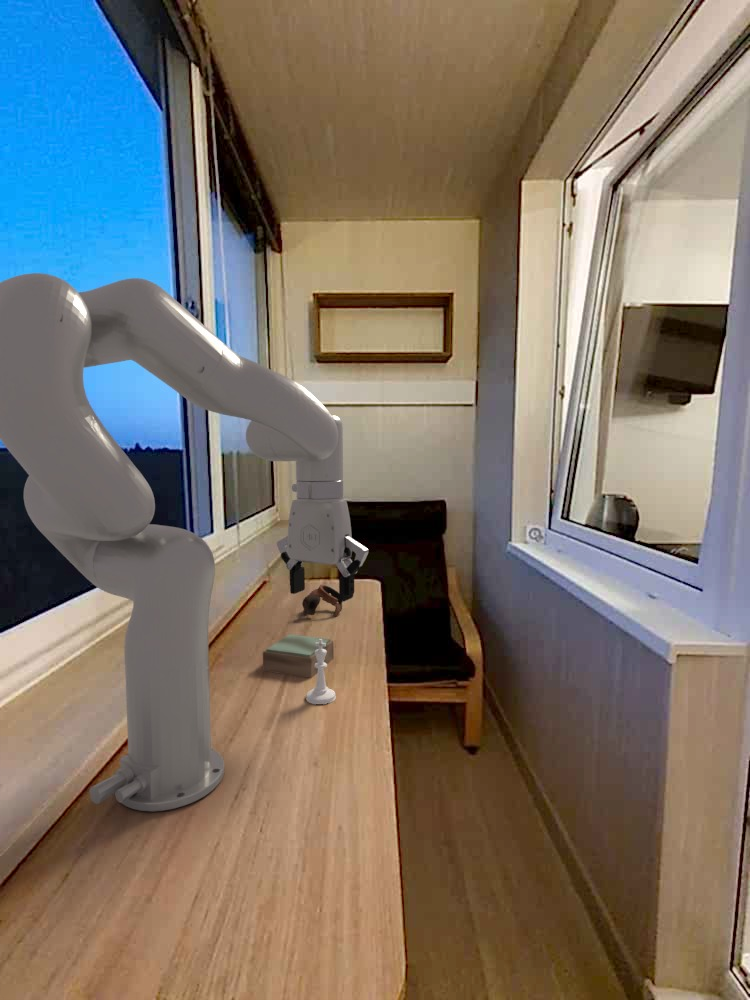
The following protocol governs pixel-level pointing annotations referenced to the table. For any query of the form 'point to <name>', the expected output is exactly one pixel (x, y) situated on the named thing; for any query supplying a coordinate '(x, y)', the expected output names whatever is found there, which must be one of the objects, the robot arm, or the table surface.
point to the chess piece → (320, 680)
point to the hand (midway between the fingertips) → (321, 595)
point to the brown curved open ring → (323, 592)
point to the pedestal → (295, 655)
